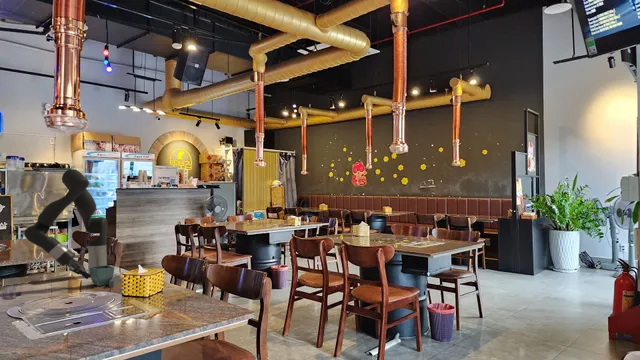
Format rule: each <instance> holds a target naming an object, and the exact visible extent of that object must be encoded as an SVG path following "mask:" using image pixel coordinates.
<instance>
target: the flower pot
mask: <svg viewBox="0 0 640 360" xmlns="http://www.w3.org/2000/svg"><path fill="white" fill-rule="evenodd" d="M115 268H116V267H115V266H113V265H108V264H107V265H103V266H95V267H90V277H89V278H90V279H91V282H92V283H93V285H95V286H99V287H100V286H108V285H109V281H110V280H111V279H112V278H114V273H115Z"/></svg>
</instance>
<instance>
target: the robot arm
mask: <svg viewBox="0 0 640 360" xmlns="http://www.w3.org/2000/svg"><path fill="white" fill-rule="evenodd" d="M61 182H62V184H63V185H64V186H65V187H66V189H67V193H66V194H65V195H63V197H60V198H59V199H56V200H54V201H52V202H50V203H49V204H47V205H46V206H45V207H44V208H43V210H42V211H41V212H40V214H39V215H38V216H37V221H36V222H35V223H34V224H33V225H30V226H28V227H26V228H25V230H24V231H23V234H24V237H25V238H26V240H28V241H29V242H30V243H31V244H34V245H35V246H37V247H39V248H41V249H42V250H43V251H44V252H46V253H47V254H48V255H49V256H50V257H51V258H52V259H53V260H54V261H56V262H57V263H58V264H59V265H61V266H62V267H64V266H66V265H67V267H68V270H69V271H71V272H72V273H74V274H76V275H78V276H79V275H81V276H82V277H83V278H84V279H85V280H89V278H91V277H90V267H95V266H103V265H108V264H107V259H108V258H107V256H108V255H107V239H108V238H107V237H108V235H107V234H108V233H107V232H108V220H107V217H103V216H101V217H92V216H93V215H94V213H95V212H96V210H97V204H96V201H95V199H94V197H93V195H92V194H91V192H90V191H89V190H88V189H87V188H88V187H89V185H90V181H89V180H88V178H87V177H85V176H84V174H83V173H82V172H80V171H79V170H77V169H74V168H73V169H72V168H71V169H67V170H66V171H65V172H63V174H62V177H61ZM72 203H74V206H75V208H76V210H77V212H78V214H79V216H80V218H81V220H82V223H83V226H84V230H85V232H87V233H88V234H90V235H91V234H92V235H94V234H95V235H96V234H99V235H98V237H95V238H94V239H91V240H89V241H88V243H87V244H88V246H87V247H88V249H87V250H88V251H87V252H88V253H87V254H88V256H87V257H88V259H87V260H88V263H87V265H88V266H87V269H88V270H87V271H88V272H87V271H86V268H85V266H84V265H83V263H82V262H81V261H78V260H76V259H74V258H75V257H76V254H75V253H74V252H72V251H71V250H70V249H69V248H68V247H67V246H66V245H64V244H63V243H61V242H60V241H59V240H57V238H55V237H54V236H49V235H47V233H48V232H49V230H50V229H51V227H52V225H53V224H54V222H55V221H56V220H57V219H58V218H59V216H60V215H61V214H62V212H63V211H64V210H65V209H66V208H68V206H69V205H71V204H72Z"/></svg>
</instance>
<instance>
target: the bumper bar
mask: <svg viewBox="0 0 640 360" xmlns="http://www.w3.org/2000/svg"><path fill="white" fill-rule="evenodd" d="M120 278H121V275H120V274H115V276H113V278H112V279H111V280H110V281H109V284H108V286H109V287H108V288H115V286H116V285H118V284H119V283H120V282H121V280H120Z"/></svg>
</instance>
